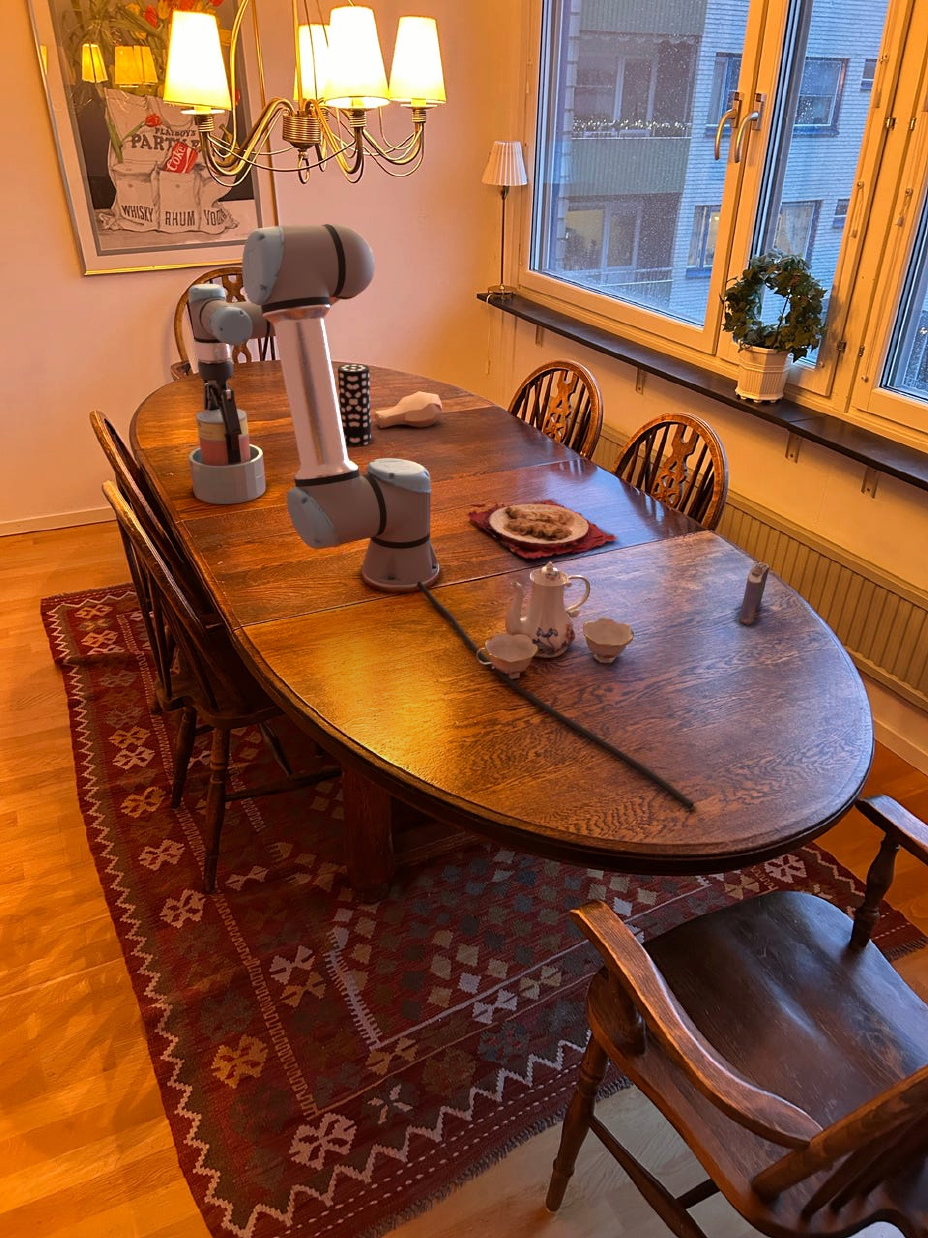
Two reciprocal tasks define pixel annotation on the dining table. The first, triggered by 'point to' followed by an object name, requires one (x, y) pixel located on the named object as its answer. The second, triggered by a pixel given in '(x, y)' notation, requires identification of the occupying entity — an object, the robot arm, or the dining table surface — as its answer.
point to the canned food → (220, 438)
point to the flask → (753, 592)
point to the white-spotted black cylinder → (355, 403)
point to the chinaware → (550, 626)
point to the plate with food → (540, 528)
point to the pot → (228, 479)
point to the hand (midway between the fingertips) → (226, 454)
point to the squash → (412, 411)
